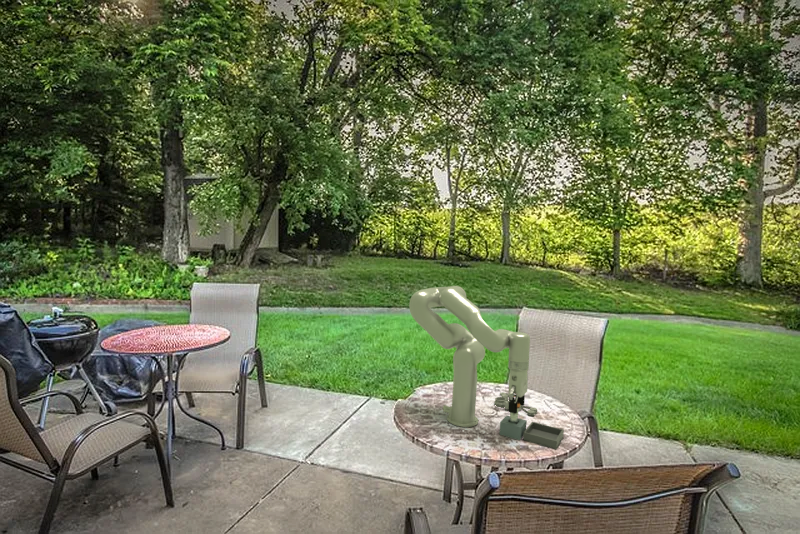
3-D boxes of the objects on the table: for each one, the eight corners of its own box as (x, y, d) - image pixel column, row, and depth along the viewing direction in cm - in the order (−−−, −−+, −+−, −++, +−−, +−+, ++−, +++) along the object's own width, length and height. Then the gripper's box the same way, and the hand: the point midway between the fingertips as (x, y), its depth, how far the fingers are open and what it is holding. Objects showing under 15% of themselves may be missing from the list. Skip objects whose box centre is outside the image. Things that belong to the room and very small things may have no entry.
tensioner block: (499, 434, 178) (500, 421, 177) (505, 427, 185) (506, 415, 184) (519, 440, 174) (520, 427, 173) (525, 432, 181) (526, 420, 180)
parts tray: (522, 440, 174) (523, 432, 174) (531, 428, 185) (532, 421, 184) (556, 449, 168) (557, 441, 168) (563, 437, 178) (563, 429, 178)
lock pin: (505, 434, 178) (508, 403, 177) (509, 430, 182) (511, 400, 181) (516, 436, 176) (518, 405, 175) (519, 433, 180) (521, 402, 179)
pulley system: (510, 420, 194) (541, 416, 198) (510, 409, 194) (541, 405, 198) (481, 399, 220) (509, 395, 225) (481, 389, 220) (509, 386, 224)
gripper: (521, 372, 168) (519, 418, 169) (534, 361, 182) (532, 404, 184) (501, 368, 171) (499, 413, 173) (515, 358, 186) (513, 400, 187)
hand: (516, 408), depth 178 cm, fingers open, 9 cm apart
